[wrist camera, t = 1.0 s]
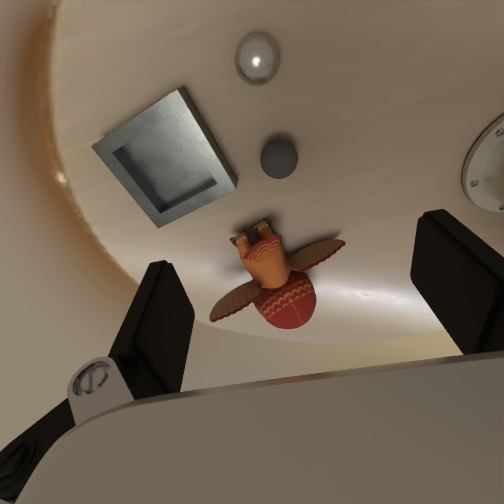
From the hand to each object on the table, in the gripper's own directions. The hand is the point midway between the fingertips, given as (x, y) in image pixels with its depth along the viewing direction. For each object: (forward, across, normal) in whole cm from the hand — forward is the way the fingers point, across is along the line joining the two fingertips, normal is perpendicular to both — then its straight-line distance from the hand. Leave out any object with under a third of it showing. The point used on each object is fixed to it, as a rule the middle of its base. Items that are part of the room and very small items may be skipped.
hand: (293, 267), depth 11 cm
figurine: (+24, +1, +17) cm, 30 cm away
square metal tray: (+25, +11, +1) cm, 27 cm away
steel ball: (+22, 0, -6) cm, 23 cm away
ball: (+22, -1, +3) cm, 22 cm away
